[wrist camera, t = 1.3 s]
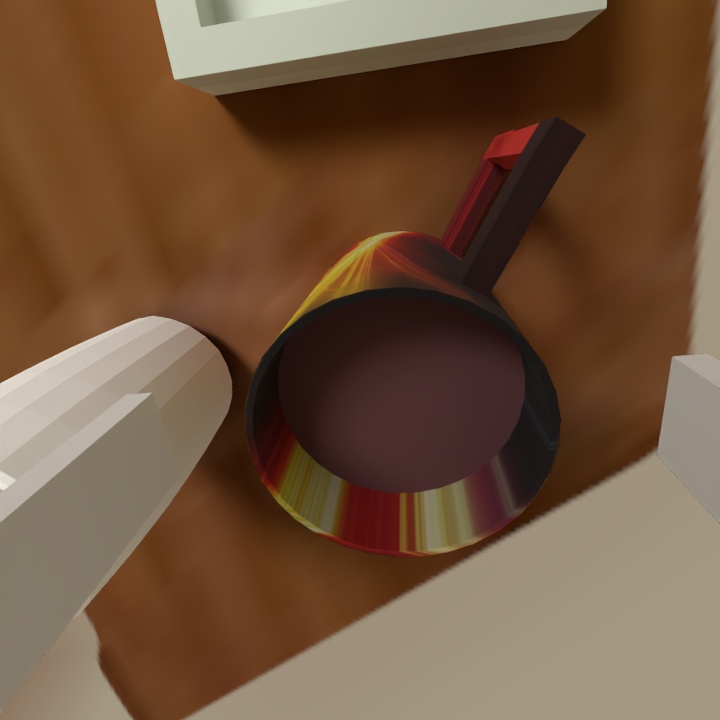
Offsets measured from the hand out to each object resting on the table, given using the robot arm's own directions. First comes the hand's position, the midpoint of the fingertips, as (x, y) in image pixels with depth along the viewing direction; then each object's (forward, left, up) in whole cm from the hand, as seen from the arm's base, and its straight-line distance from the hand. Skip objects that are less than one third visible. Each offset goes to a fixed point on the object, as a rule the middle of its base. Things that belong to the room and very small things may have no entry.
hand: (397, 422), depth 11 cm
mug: (0, 0, -14) cm, 14 cm away
